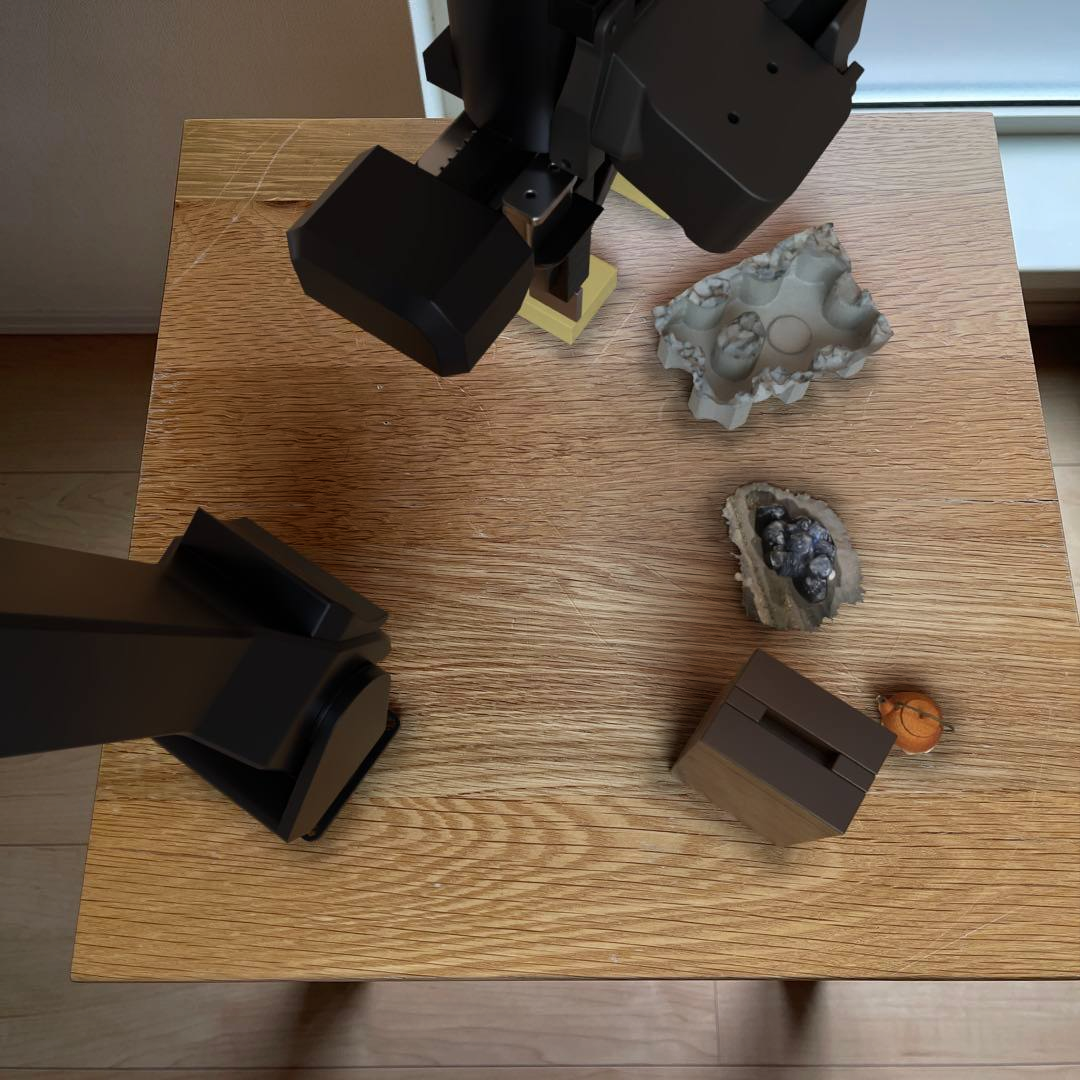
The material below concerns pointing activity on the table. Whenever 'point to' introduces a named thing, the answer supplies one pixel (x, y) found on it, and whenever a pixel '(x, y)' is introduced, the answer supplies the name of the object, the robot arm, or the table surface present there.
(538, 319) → the butter block
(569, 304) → the dark brown angled piece
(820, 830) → the brown slotted box
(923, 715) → the teapot
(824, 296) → the egg carton
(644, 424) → the table surface
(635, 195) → the butter pat
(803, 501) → the blue crystal geode
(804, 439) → the table surface
